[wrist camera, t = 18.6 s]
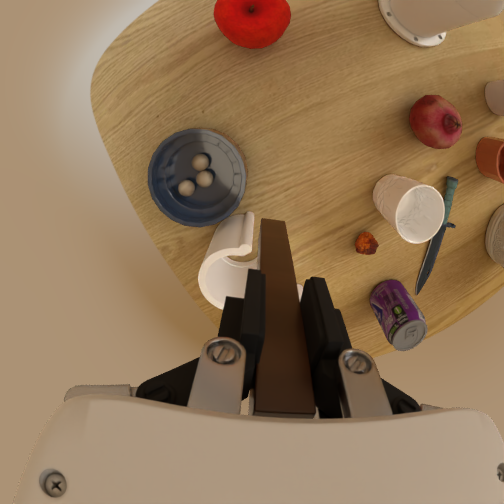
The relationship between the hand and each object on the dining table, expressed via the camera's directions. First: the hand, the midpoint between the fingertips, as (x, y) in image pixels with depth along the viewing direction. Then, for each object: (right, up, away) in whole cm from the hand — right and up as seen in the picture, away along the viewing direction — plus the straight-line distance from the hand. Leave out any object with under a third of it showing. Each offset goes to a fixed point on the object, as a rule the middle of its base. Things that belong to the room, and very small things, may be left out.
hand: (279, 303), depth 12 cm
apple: (-1, +33, +19) cm, 38 cm away
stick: (0, +4, +10) cm, 10 cm away
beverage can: (+23, -5, +36) cm, 43 cm away
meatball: (+17, +4, +32) cm, 36 cm away
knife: (+32, +4, +31) cm, 44 cm away
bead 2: (-8, +15, +26) cm, 31 cm away
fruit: (+25, +23, +23) cm, 41 cm away
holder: (+42, +19, +23) cm, 52 cm away
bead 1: (-11, +11, +27) cm, 31 cm away
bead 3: (-8, +12, +27) cm, 30 cm away
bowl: (-8, +14, +28) cm, 32 cm away
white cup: (+21, +11, +28) cm, 37 cm away
